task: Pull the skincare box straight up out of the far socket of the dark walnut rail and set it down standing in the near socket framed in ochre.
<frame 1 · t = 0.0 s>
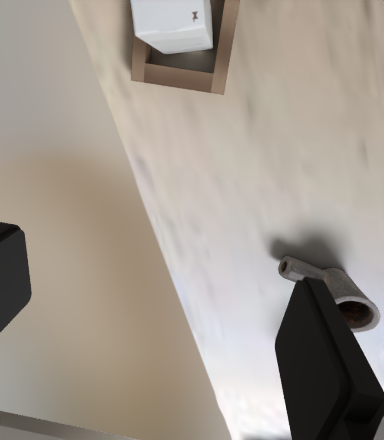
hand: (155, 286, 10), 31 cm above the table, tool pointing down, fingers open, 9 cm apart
pipe: (316, 272, 45), on the table
skincare box: (186, 31, 34), resting in socket rail
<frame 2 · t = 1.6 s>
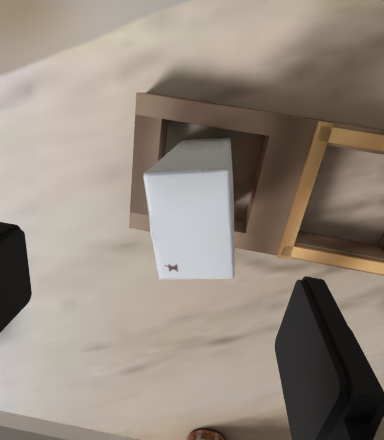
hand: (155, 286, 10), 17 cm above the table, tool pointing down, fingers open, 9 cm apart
socket rail: (277, 183, 25), on the table
sauce bottle: (207, 438, 40), on the table
skincare box: (208, 171, 25), resting in socket rail
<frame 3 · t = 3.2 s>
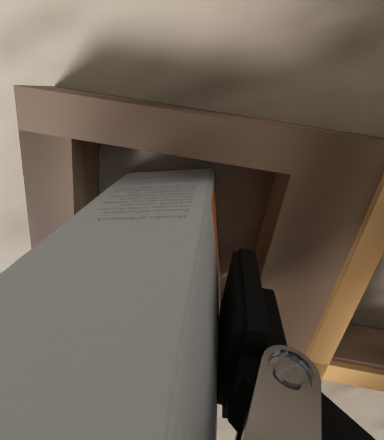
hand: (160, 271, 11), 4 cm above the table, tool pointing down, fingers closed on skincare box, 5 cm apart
socket rail: (298, 247, 14), on the table
skincare box: (177, 224, 14), resting in socket rail, touching gripper
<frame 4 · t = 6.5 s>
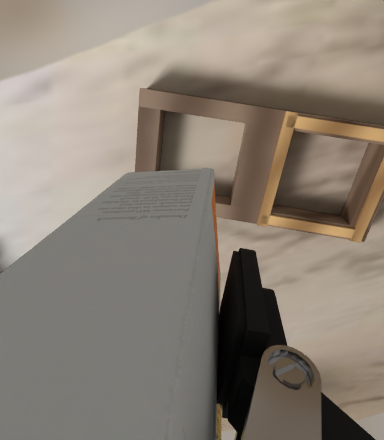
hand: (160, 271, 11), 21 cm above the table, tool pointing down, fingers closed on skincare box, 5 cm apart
socket rail: (256, 164, 30), on the table
skincare box: (177, 224, 14), point 17 cm above the table, touching gripper
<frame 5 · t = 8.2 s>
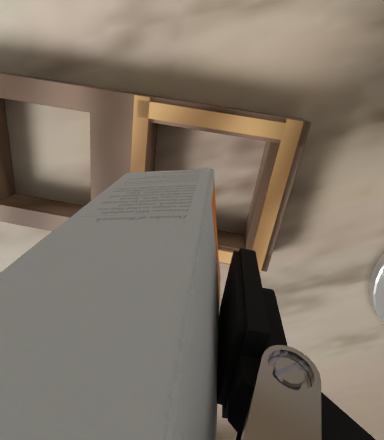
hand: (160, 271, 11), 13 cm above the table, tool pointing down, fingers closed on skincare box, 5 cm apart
socket rail: (129, 167, 23), on the table
skincare box: (177, 224, 14), point 9 cm above the table, touching gripper
when the fingers open (5 cm above the table, at t = 9.6 s): skincare box stays where it is, resting in socket rail.
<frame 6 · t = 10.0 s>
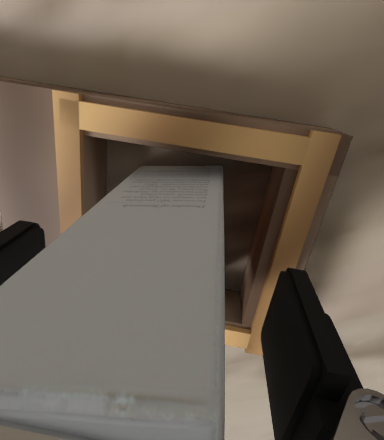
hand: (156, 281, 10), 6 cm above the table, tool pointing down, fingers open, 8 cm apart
socket rail: (69, 199, 15), on the table
skincare box: (184, 216, 15), resting in socket rail
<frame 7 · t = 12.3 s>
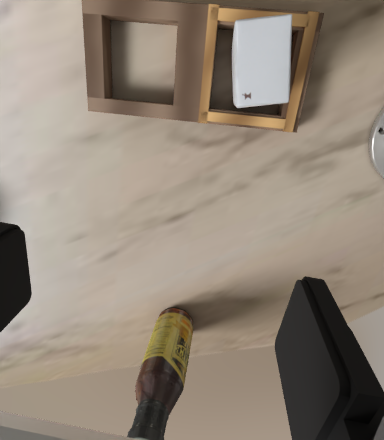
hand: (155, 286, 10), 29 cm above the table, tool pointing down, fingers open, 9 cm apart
socket rail: (196, 68, 33), on the table
sauce bottle: (176, 318, 49), on the table
skincare box: (251, 73, 33), resting in socket rail
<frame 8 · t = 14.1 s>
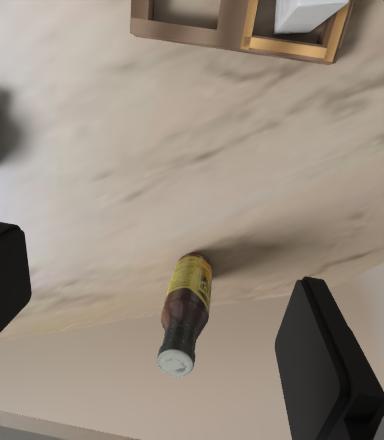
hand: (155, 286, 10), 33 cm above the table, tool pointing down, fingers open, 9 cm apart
sauce bottle: (194, 265, 49), on the table
skincare box: (293, 3, 33), resting in socket rail
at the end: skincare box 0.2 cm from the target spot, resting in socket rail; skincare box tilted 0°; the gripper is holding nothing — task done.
